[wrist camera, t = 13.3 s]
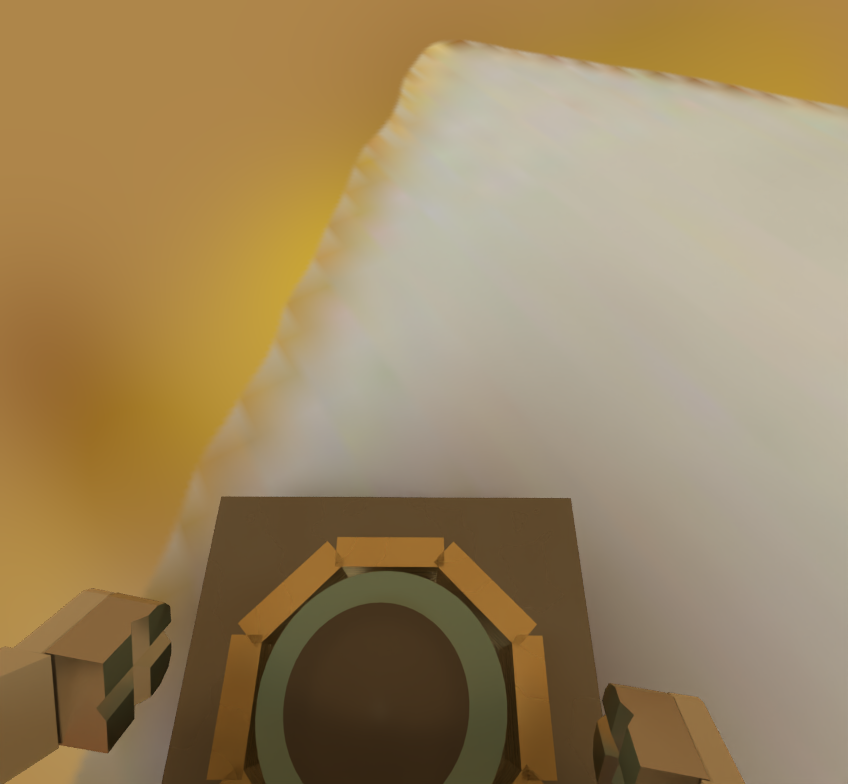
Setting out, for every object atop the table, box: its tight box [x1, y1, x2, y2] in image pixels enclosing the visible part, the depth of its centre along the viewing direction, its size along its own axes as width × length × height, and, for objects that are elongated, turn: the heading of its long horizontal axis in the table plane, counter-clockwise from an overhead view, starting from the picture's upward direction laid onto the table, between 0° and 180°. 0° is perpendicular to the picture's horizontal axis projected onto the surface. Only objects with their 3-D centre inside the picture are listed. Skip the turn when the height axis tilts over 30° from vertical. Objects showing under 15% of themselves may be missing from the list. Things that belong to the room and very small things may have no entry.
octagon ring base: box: [162, 497, 602, 784], centre depth 16 cm, size 12×12×8 cm
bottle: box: [255, 571, 507, 784], centre depth 11 cm, size 4×4×8 cm
